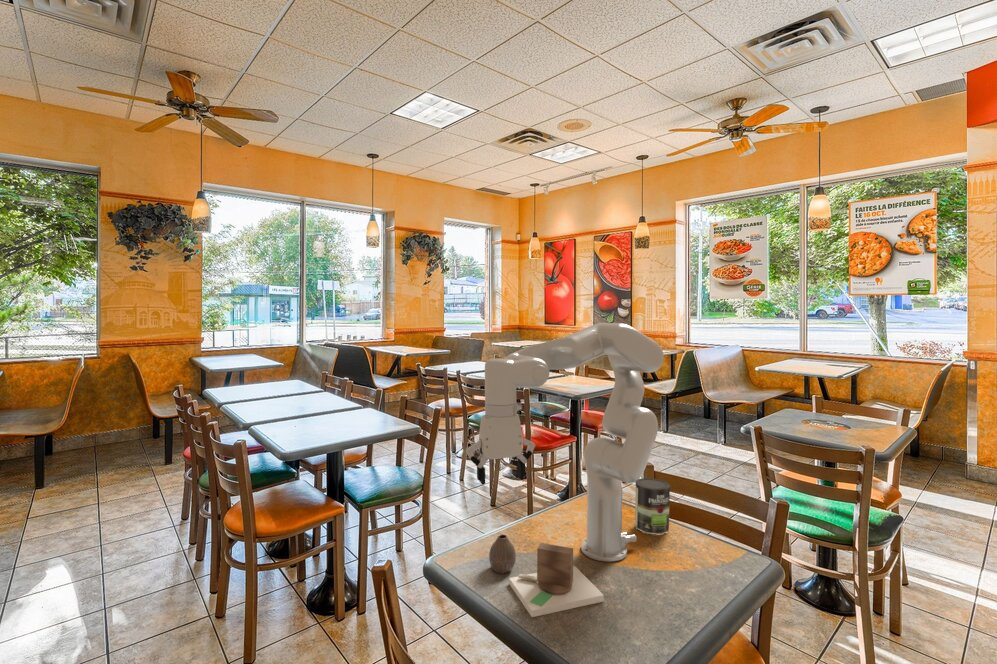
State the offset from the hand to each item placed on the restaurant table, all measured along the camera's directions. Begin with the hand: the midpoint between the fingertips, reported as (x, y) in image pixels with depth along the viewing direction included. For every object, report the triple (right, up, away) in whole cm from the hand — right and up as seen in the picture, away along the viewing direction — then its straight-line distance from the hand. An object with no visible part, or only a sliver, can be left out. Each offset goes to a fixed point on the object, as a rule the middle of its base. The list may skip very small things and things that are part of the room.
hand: (501, 480), depth 119 cm
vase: (0, -26, +9) cm, 27 cm away
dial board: (+13, -26, -2) cm, 29 cm away
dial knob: (+10, -24, -1) cm, 26 cm away
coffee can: (+47, -25, +34) cm, 63 cm away
